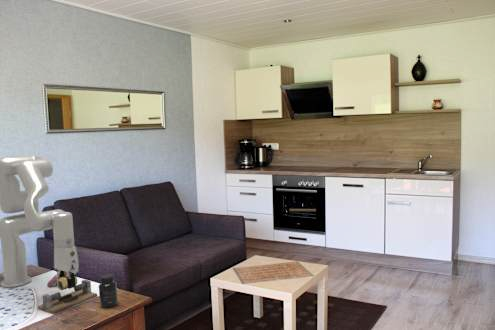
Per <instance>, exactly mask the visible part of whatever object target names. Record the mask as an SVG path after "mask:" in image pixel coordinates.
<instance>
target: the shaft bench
mask: <svg viewBox="0 0 495 330" xmlns="http://www.w3.org/2000/svg"><path fill="white" fill-rule="evenodd" d="M41 297H42V303H41V304H38V305H37V310H40V311H43V312H45V313H48V314H52V315H53V316H54V315H55V316H56V315H57V314H59V313H62V312H64V311H66V310H68V309H69V310H70V309H72V308H73V307H76V306H78V305H80V304H83V303H85V302H88V301H90V300H92V299H94V298H97V297H98V293H97V292H92V284H91V280H89V279H82V280H81V283H80V284H76V286H75V287H73V291H72V292H70V293H66V294H64V295H62V294H61V292H60V291H58V292H55V293H53V294H51V295H50V294H47V293H45V294H43V295H42V296H41Z"/></svg>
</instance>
